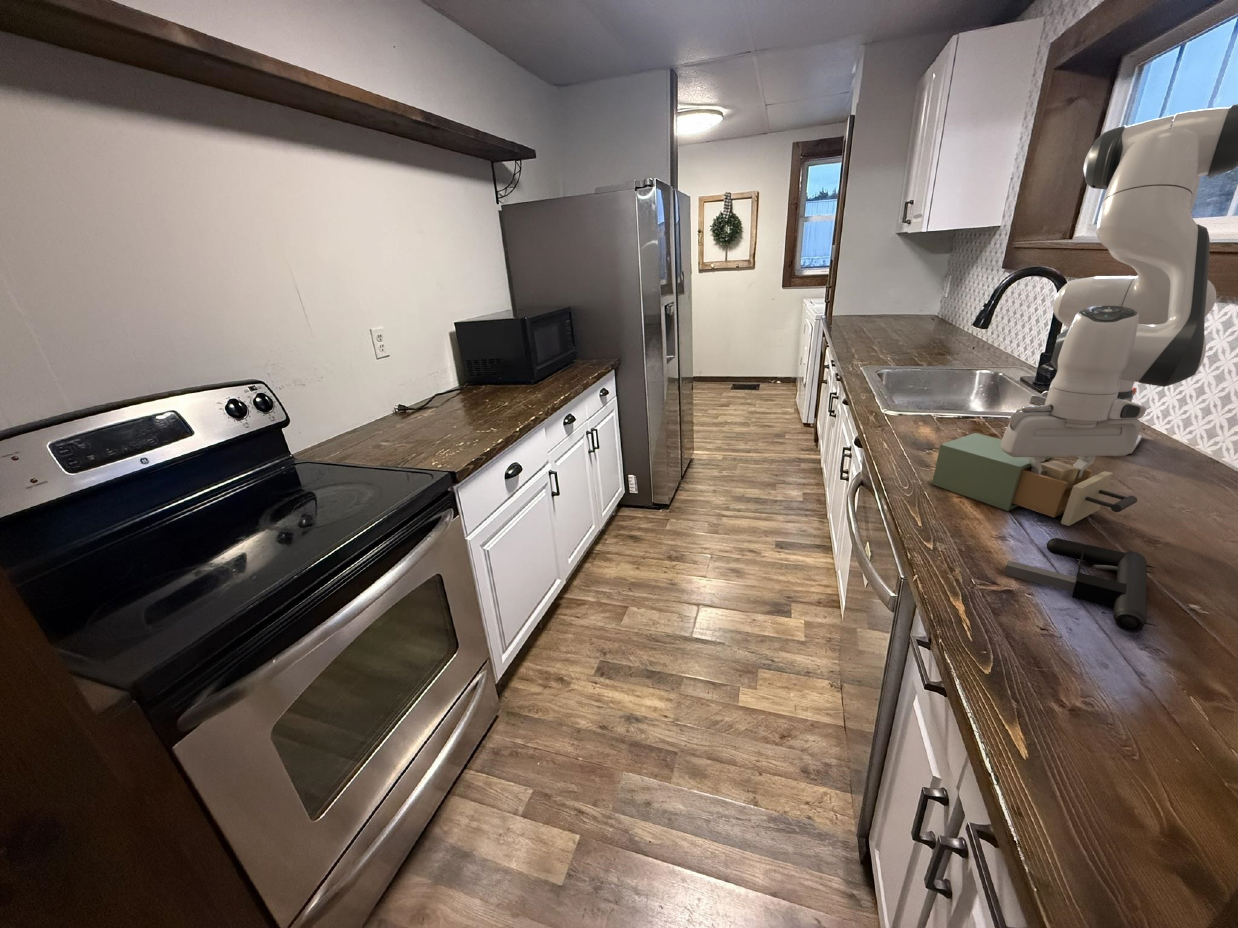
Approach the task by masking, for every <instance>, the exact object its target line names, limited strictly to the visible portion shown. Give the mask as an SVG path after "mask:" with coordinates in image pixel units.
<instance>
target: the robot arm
mask: <svg viewBox="0 0 1238 928" xmlns="http://www.w3.org/2000/svg"><path fill="white" fill-rule="evenodd" d="M1236 168H1238V104H1232V105H1230V107H1229V106H1228V107H1215V108H1205V109H1198V110H1189V111H1184V112H1183V111H1182V112H1178V113H1176V114H1174V115H1169V116H1168V115H1167V116H1164V117H1163V116H1162V117H1158V118H1154V119H1150V120H1146V121H1143V122H1139V123H1135V124H1132V125H1128V126H1127V125H1126V124H1125V125H1121V126H1118V127H1115V128H1112V129H1109V130H1107V131H1104V132H1103V133H1102V134H1101V135H1100V136H1099V137H1098V138H1096V139H1095V140H1094V142H1093V144H1092V146H1091V147H1090V149H1089V151H1088V152H1087V154H1086V156H1085V159H1084V162H1083V168H1082V169H1083V176H1084V181H1085V184H1086V185H1087V186H1089V187H1090V188H1091V189H1096V190H1106V191H1105V194H1104V197H1103V199H1102V202H1101V206H1100V210H1099V213H1098V218H1097V223H1096V229H1095V230H1096V231H1095V234H1096V237H1097V239H1098V241H1099V242H1100V244H1101V245H1102V246H1103V247H1104V248H1106V249H1107V250H1108V252H1109V254H1110V255H1111V257H1112V258H1113V259H1115V260H1116V261H1117V262H1120V263H1123V264H1124V265H1127V266H1129V267H1131V268H1132V269H1133V270H1134V271H1135V272H1136V273H1137V275H1097V276H1096V275H1095V276H1089V277H1082V278H1076V279H1071V280H1070V281H1068V282H1067V283H1065V284H1064V285H1063V286H1062V287H1061V288H1060V289H1059V290H1058V292H1057V293H1056V295H1055V296H1054V299H1053V302H1052V311H1053V314H1054V317H1055V318H1056V320H1058V321H1059V322H1060V323H1062V324H1063V325H1064V326H1065V327H1066V328H1067V329H1065V330H1064V331H1061V332H1060V333H1058V335H1057V337H1056V340H1055V345H1054V349H1053V352H1052V356H1051V359H1050V363H1051V365H1052V366H1053V367H1054V368H1055V370H1056V374H1055V377H1054V378H1052V380H1051V382H1050V385H1049V388H1048V392H1047V395H1046V397H1045V398H1046V399H1045V401H1044V405H1043V404H1041V405H1023V406H1021V407H1020V408H1018V409H1016V410H1015V411H1014V412H1012V413H1011V414H1010V415H1011V416H1010V419H1009V423H1008V425H1007V427H1006V428H1005V431H1004V434H1003V435H1002V438H1001V439H1002V441H1001V445H1000V447H1001V449H1002V450H1003V452H1005V453H1006V454H1008V455H1010V456H1012V457H1028V459H1029V462H1030V464H1031V467H1032V469H1031V472H1033V473H1037V474H1040V475H1044V476H1045V474H1046V473H1047V470H1046V469H1043V468H1042V466H1041V463H1040V462H1044V460H1045V457H1054V458H1062V457H1063V458H1064V457H1066V458H1067V457H1069V458H1070V457H1071V458H1072V457H1076V458H1078V459H1077V460H1076V461H1075V462H1074V463H1073V467H1076V468H1079V469H1078V472H1077V475H1076V478H1081V477H1082V474H1083V471H1084V470H1085V469H1088V467H1090V466H1091V465H1092V464H1093V463H1095V460H1096V458H1097V457H1125V456H1127V455H1129V454H1133V452H1134V451H1135V449H1136V448H1137V447H1138V445H1139V444H1140V442H1141V440H1142V437H1143V436H1142V435H1141V434H1140V431H1141V427H1142V423H1141V421H1140V419H1142V418H1143V417H1144V416H1145V414H1146V411H1147V407H1146V406H1145V405H1142V404H1139V403H1136V402H1133V399H1134V396H1135V394H1136V393H1137V390H1138V388H1137V387H1134V385H1135V382H1136V383H1138V384H1143V385H1150V386H1155V387H1162V388H1164V387H1165V388H1166V387H1168V386H1173V385H1175V384H1179V383H1180V382H1183V381H1185V380H1187V379H1189V378H1191V377H1193V376H1195V375H1196V374H1197V372H1198V370H1199V369H1200V368H1201V366H1202V364H1203V362H1204V360H1205V357H1206V352H1207V341H1206V336H1205V335H1206V333H1205V320H1206V317H1207V316H1208V315H1209V314H1210V312H1211V311H1212V310H1213V308H1214V307H1215V304H1216V302H1217V291H1216V287H1215V285H1214V284H1213V282H1212V281H1210V280H1209V273H1210V272H1209V271H1210V255H1211V254H1210V252H1211V248H1210V247H1211V241H1210V240H1211V239H1210V234H1209V230H1208V228H1207V227H1206V226H1204V225H1200V224H1197V222H1196V221H1195V220H1194V218H1193V216H1192V213H1193V208H1194V206H1195V203H1196V200H1197V195H1198V191H1199V186H1200V180H1201V177H1204V176H1206V177H1208V179H1212V178H1214V177H1215V176H1216V177H1217V176H1218V175H1223V174H1226V173H1228V172H1232V171H1233V170H1235V169H1236Z"/></svg>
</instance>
